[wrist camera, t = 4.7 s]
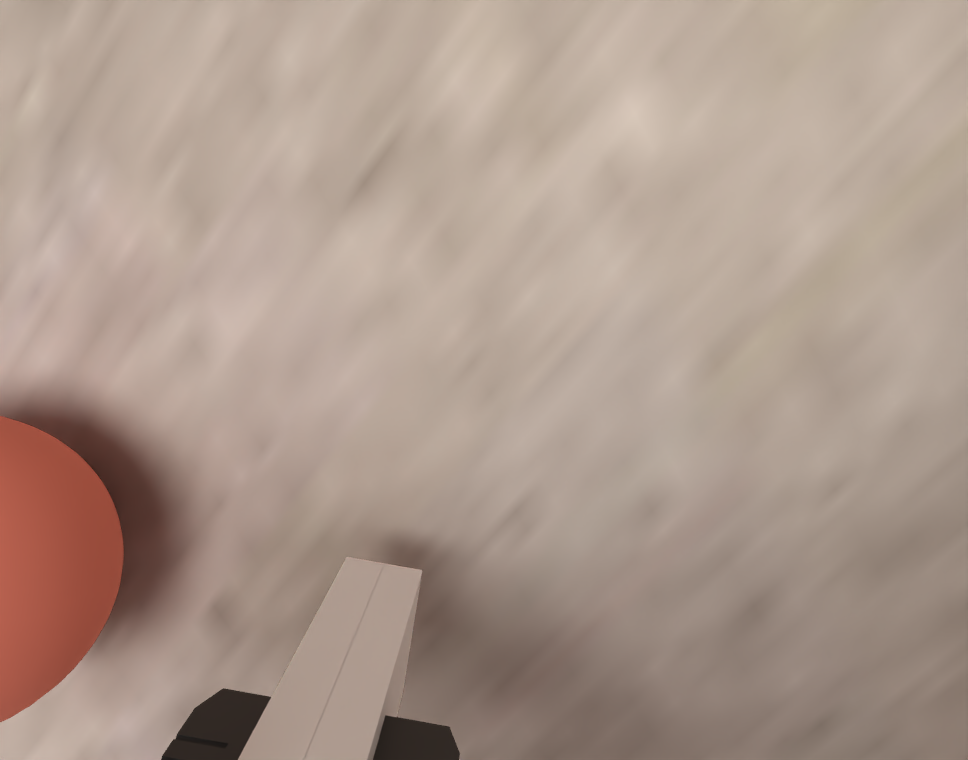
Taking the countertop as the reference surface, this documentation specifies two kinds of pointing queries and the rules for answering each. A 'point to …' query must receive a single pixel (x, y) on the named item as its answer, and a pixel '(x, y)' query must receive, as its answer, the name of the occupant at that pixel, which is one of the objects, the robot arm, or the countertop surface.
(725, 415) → the countertop surface
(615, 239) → the countertop surface
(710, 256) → the countertop surface
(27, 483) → the ball
